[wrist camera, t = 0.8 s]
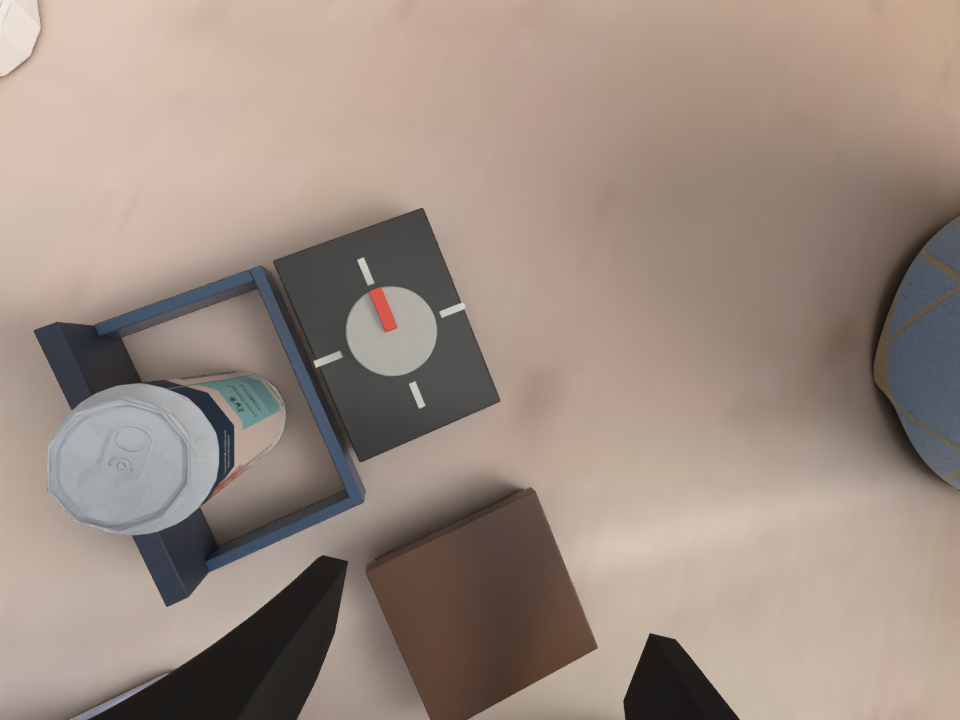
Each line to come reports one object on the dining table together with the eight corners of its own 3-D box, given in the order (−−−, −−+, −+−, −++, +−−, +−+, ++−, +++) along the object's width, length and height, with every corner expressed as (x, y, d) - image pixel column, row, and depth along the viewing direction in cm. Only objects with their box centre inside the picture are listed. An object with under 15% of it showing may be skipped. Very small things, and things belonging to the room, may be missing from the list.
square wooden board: (434, 709, 28) (437, 736, 26) (366, 556, 28) (365, 571, 26) (584, 628, 30) (598, 648, 28) (525, 481, 29) (535, 491, 27)
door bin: (204, 564, 26) (166, 607, 22) (95, 334, 25) (32, 330, 20) (366, 491, 27) (361, 518, 23) (270, 271, 26) (246, 255, 22)
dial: (442, 355, 26) (451, 355, 22) (370, 385, 25) (366, 390, 21) (413, 283, 25) (417, 271, 22) (339, 311, 25) (330, 304, 21)
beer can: (179, 445, 26) (1, 524, 14) (210, 359, 26) (59, 364, 14) (271, 470, 27) (177, 563, 15) (300, 386, 27) (230, 413, 15)
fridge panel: (493, 396, 29) (503, 400, 26) (360, 453, 27) (357, 464, 25) (421, 219, 28) (425, 205, 25) (281, 269, 26) (269, 260, 24)
